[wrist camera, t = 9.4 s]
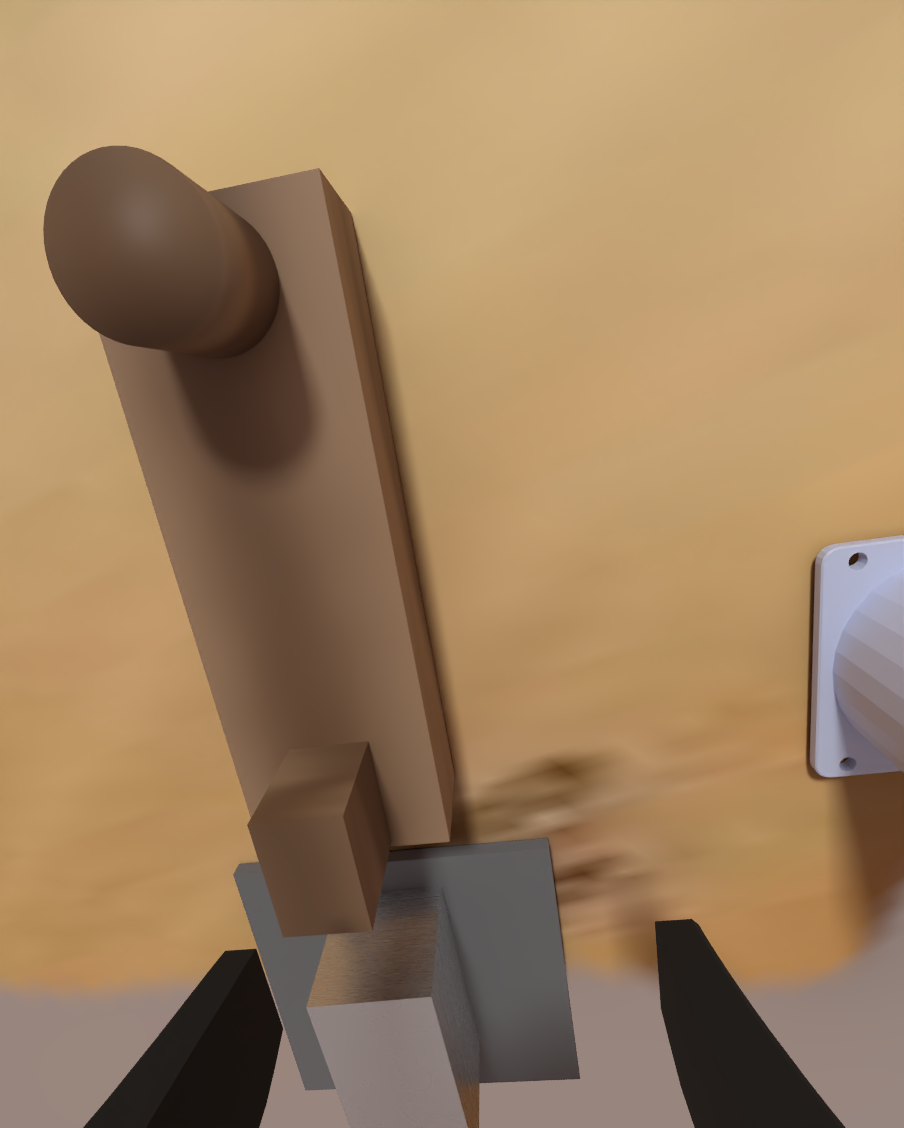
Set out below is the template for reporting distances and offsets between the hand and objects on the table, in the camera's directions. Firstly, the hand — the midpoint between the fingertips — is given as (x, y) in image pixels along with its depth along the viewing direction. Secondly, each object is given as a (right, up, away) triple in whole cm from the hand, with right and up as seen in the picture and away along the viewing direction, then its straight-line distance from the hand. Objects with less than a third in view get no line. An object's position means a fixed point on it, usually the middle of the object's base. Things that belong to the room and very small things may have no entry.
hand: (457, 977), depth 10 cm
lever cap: (-2, -9, +12) cm, 15 cm away
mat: (-2, -9, +13) cm, 16 cm away
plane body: (-4, +8, +8) cm, 12 cm away
